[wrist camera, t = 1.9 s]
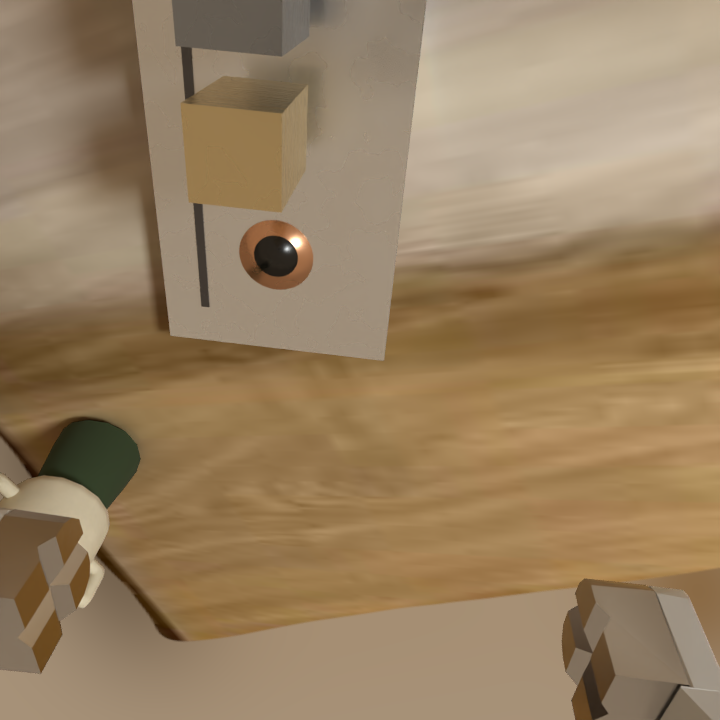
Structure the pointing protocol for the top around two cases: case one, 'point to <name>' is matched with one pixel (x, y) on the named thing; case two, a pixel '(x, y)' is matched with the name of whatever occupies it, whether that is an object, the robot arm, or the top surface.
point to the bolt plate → (317, 185)
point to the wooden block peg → (245, 142)
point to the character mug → (79, 484)
